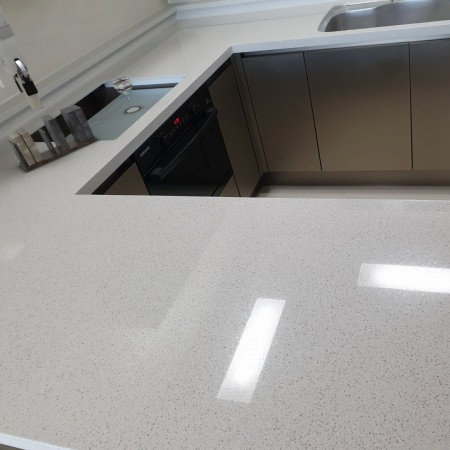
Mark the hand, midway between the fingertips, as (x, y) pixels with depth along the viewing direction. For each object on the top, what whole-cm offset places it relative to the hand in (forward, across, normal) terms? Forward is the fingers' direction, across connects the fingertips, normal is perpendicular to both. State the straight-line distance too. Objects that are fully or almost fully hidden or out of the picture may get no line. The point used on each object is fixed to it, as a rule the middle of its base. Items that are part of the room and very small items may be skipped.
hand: (29, 92), depth 145 cm
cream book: (+5, 0, 0) cm, 5 cm away
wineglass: (+21, -11, +34) cm, 41 cm away
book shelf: (+21, 0, 0) cm, 21 cm away
